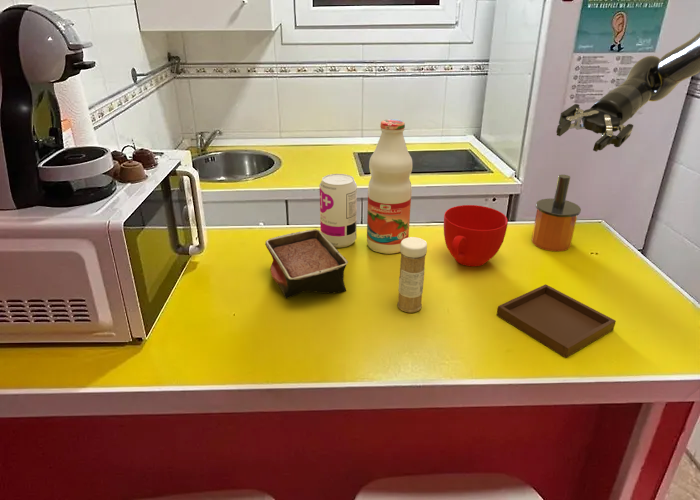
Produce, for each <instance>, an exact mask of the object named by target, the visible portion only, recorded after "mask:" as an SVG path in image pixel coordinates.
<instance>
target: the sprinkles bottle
mask: <svg viewBox="0 0 700 500" xmlns="http://www.w3.org/2000/svg"><path fill="white" fill-rule="evenodd" d="M427 251H428V242H427V241H426V240H425V239H423V238H422V237H421V238H420V237H417V236H409V237H408V238H405V239H403V240H402V241H401V246H400V252H399V253H400V265H399V266H400V267H399V275H398V296H397V297H398V299H397V308H398V309H399V310H401V311H402V312H405V313H409V314H410V313H411V314H412V313H416V312H419V311H421V309H422V307H423V305H422V300H423V293H424V282H425V281H424V280H425V270H426V269H425V264H426V255H427V253H428V252H427Z"/></svg>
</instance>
